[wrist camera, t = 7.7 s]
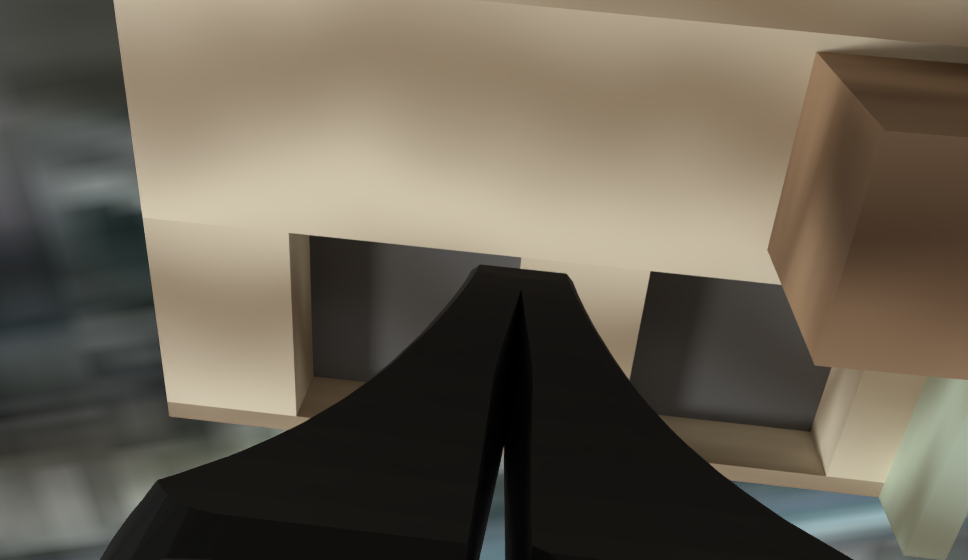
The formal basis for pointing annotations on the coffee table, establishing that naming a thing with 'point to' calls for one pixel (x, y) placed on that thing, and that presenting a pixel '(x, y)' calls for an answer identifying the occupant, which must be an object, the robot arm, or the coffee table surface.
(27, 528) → the coffee table surface
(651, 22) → the trap deck
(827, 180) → the walnut block
